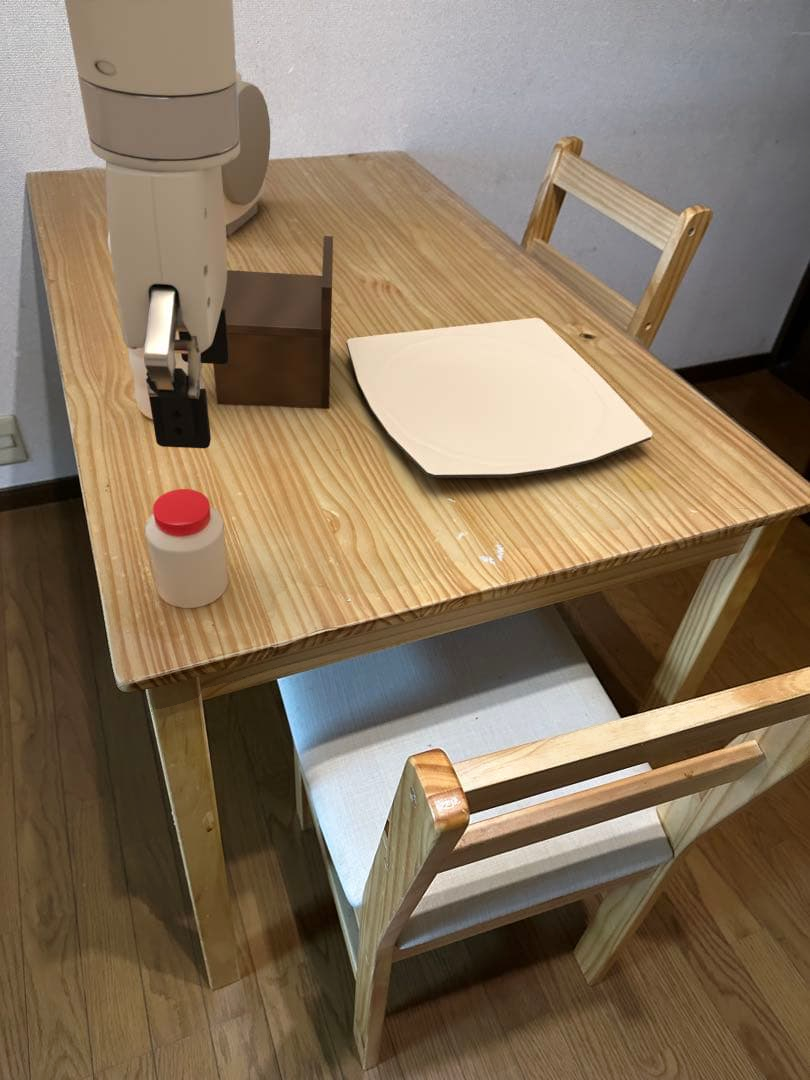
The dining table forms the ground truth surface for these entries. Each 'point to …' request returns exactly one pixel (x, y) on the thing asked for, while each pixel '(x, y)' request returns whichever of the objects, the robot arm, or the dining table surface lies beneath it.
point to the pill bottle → (187, 549)
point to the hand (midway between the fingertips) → (195, 400)
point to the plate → (491, 400)
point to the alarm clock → (247, 158)
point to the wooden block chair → (278, 338)
